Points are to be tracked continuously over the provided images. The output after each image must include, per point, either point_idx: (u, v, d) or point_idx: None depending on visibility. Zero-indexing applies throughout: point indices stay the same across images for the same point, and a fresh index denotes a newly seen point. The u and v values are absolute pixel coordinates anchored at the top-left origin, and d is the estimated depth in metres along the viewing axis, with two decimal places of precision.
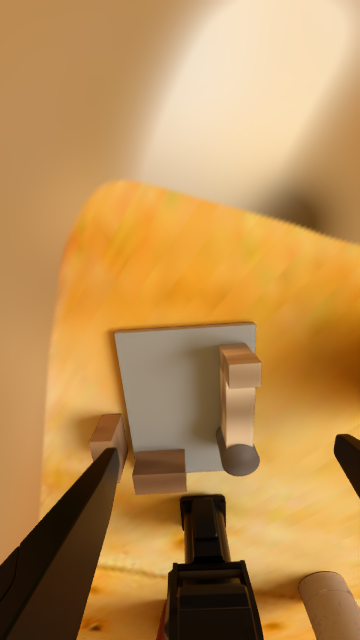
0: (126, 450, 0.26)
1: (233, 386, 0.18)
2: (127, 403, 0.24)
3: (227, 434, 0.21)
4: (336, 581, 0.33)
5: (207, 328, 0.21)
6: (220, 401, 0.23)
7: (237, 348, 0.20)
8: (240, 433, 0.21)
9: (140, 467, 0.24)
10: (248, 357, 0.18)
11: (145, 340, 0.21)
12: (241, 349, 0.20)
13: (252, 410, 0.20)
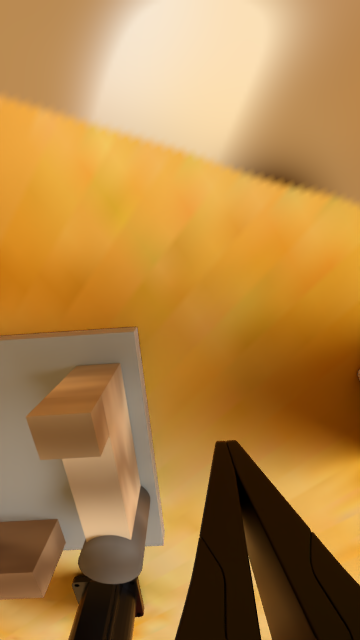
0: None
1: (46, 456, 0.09)
2: None
3: (82, 521, 0.12)
4: None
5: (52, 338, 0.12)
6: None
7: (94, 374, 0.12)
8: (104, 519, 0.12)
9: None
10: (85, 395, 0.10)
11: None
12: (97, 376, 0.11)
13: (116, 484, 0.11)
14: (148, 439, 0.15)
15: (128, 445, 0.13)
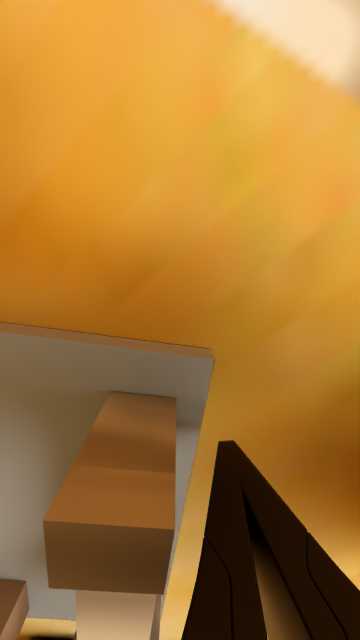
0: None
1: (63, 584, 0.05)
2: None
3: (79, 636, 0.08)
4: None
5: (88, 345, 0.08)
6: None
7: (144, 415, 0.07)
8: (114, 637, 0.08)
9: None
10: (147, 469, 0.05)
11: None
12: (151, 422, 0.07)
13: (150, 598, 0.07)
14: (183, 501, 0.10)
15: None
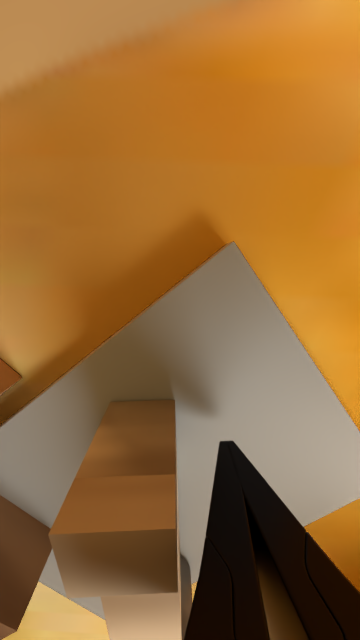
0: None
1: (80, 593, 0.05)
2: (65, 381, 0.08)
3: None
4: None
5: (348, 419, 0.09)
6: None
7: (143, 421, 0.08)
8: (147, 639, 0.08)
9: None
10: (147, 473, 0.06)
11: (258, 326, 0.08)
12: (150, 426, 0.07)
13: (174, 597, 0.07)
14: None
15: (178, 516, 0.09)
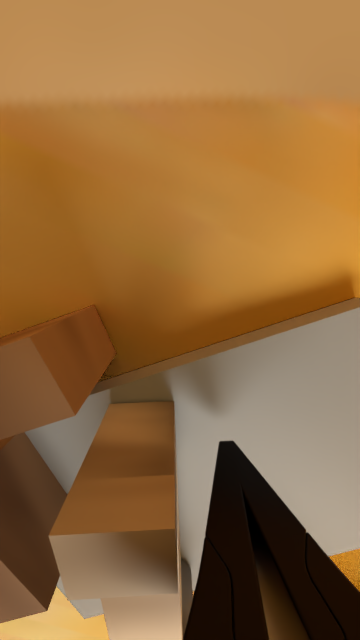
0: None
1: (80, 594, 0.05)
2: (171, 373, 0.09)
3: None
4: None
5: None
6: None
7: (142, 422, 0.08)
8: None
9: None
10: (147, 474, 0.06)
11: (359, 377, 0.09)
12: (150, 428, 0.07)
13: (174, 599, 0.07)
14: None
15: (178, 518, 0.09)
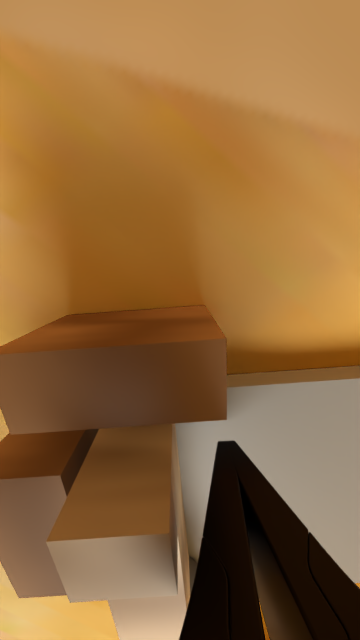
0: None
1: (81, 597, 0.05)
2: (262, 389, 0.09)
3: None
4: None
5: None
6: None
7: None
8: None
9: (79, 463, 0.07)
10: (143, 478, 0.06)
11: None
12: (148, 431, 0.07)
13: (179, 598, 0.07)
14: None
15: (182, 517, 0.09)
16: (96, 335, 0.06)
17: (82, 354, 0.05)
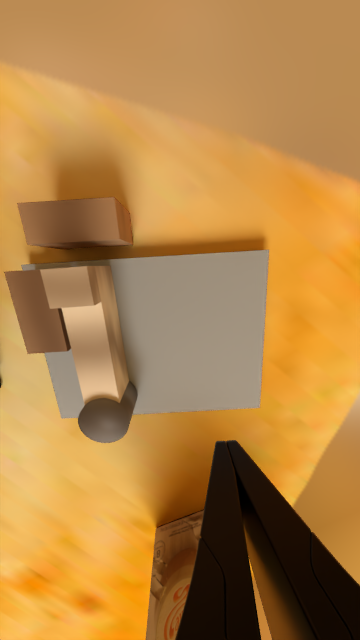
0: (68, 248, 0.16)
1: (54, 305, 0.13)
2: (160, 259, 0.16)
3: (81, 384, 0.15)
4: None
5: (261, 361, 0.19)
6: None
7: None
8: (98, 383, 0.15)
9: None
10: None
11: (254, 291, 0.17)
12: None
13: (107, 348, 0.15)
14: (176, 411, 0.20)
15: (117, 334, 0.17)
16: None
17: (57, 203, 0.12)
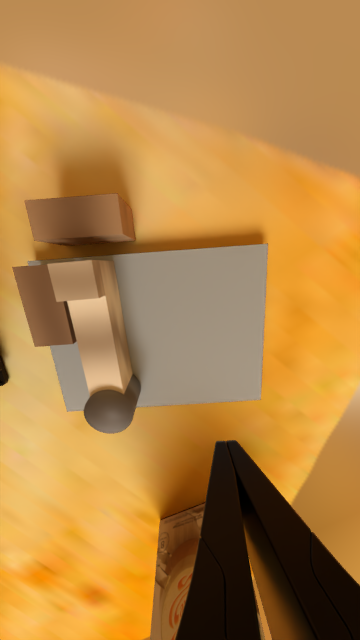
0: (72, 244, 0.17)
1: (61, 298, 0.13)
2: (161, 254, 0.17)
3: (86, 376, 0.16)
4: None
5: (261, 353, 0.19)
6: None
7: None
8: (103, 374, 0.16)
9: None
10: None
11: (254, 284, 0.17)
12: None
13: (111, 341, 0.15)
14: (179, 403, 0.21)
15: (121, 327, 0.17)
16: None
17: (62, 200, 0.13)
